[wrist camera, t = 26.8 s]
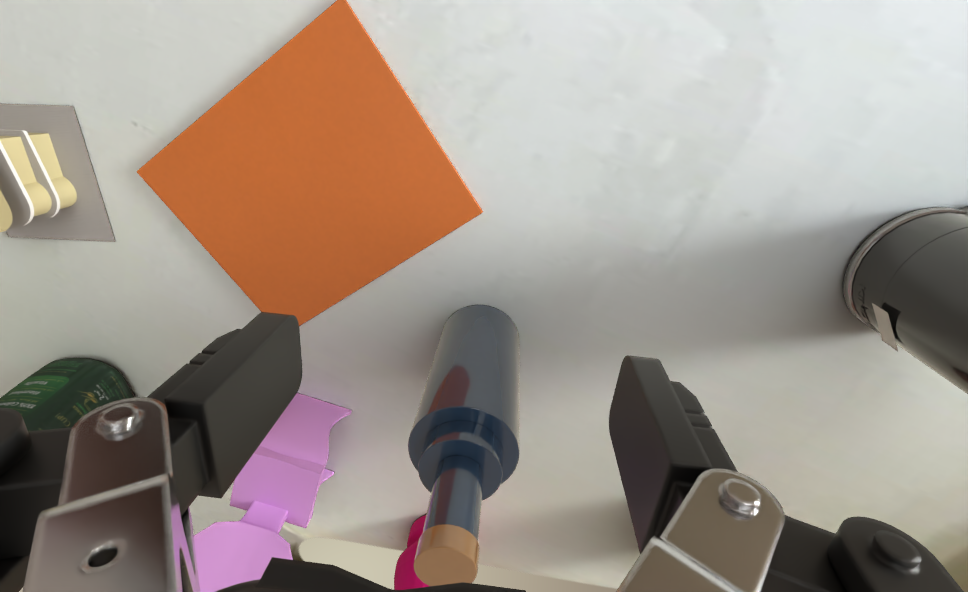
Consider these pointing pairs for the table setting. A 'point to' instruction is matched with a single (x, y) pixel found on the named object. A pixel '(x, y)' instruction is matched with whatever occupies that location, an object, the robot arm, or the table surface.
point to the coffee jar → (65, 393)
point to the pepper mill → (409, 560)
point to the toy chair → (270, 496)
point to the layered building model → (48, 176)
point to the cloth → (312, 173)
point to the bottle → (465, 437)
